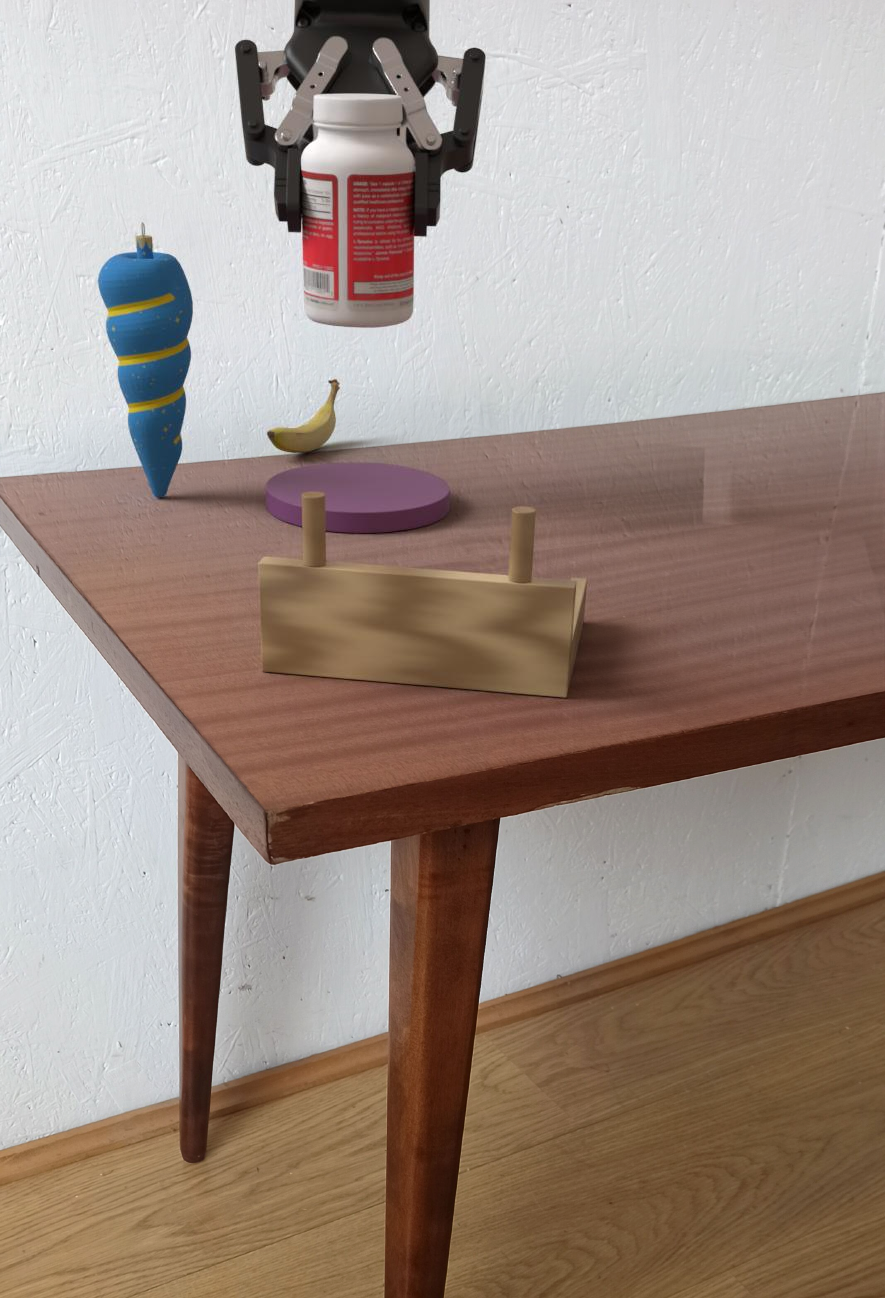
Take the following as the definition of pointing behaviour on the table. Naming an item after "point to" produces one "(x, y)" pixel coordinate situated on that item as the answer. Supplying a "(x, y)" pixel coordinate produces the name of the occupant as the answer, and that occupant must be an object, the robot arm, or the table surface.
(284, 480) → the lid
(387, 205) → the pill bottle
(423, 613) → the rack
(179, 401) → the ornament
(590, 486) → the table surface
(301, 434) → the banana
